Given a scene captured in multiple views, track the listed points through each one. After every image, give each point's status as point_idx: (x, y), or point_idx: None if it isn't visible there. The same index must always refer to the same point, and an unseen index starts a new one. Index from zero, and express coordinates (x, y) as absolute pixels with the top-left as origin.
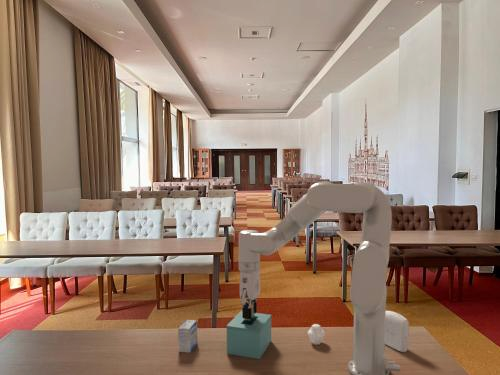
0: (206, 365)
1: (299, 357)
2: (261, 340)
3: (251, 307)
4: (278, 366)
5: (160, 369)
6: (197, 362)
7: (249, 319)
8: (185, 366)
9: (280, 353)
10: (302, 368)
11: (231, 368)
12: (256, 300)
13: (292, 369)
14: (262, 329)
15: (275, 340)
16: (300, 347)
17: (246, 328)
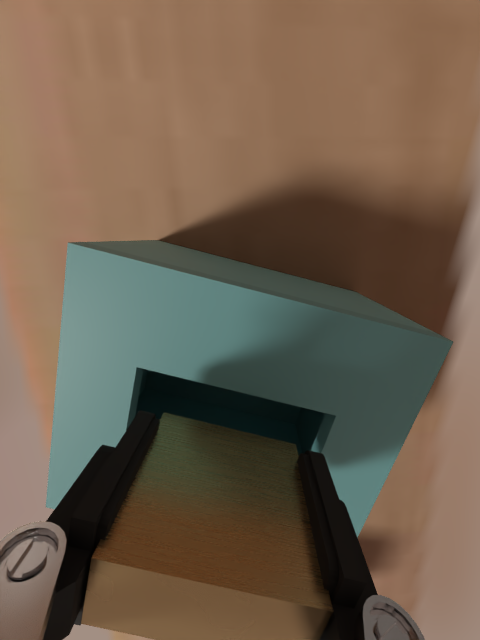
0: (395, 492)
1: (342, 59)
2: (360, 302)
3: (253, 548)
4: (434, 193)
5: (410, 610)
6: (370, 522)
7: (294, 455)
8: (397, 552)
9: (295, 183)
10: (472, 42)
11: (428, 405)
12: (22, 534)
13: (474, 109)
14: (362, 314)
15: (145, 215)
16: (215, 48)
17: (400, 448)
